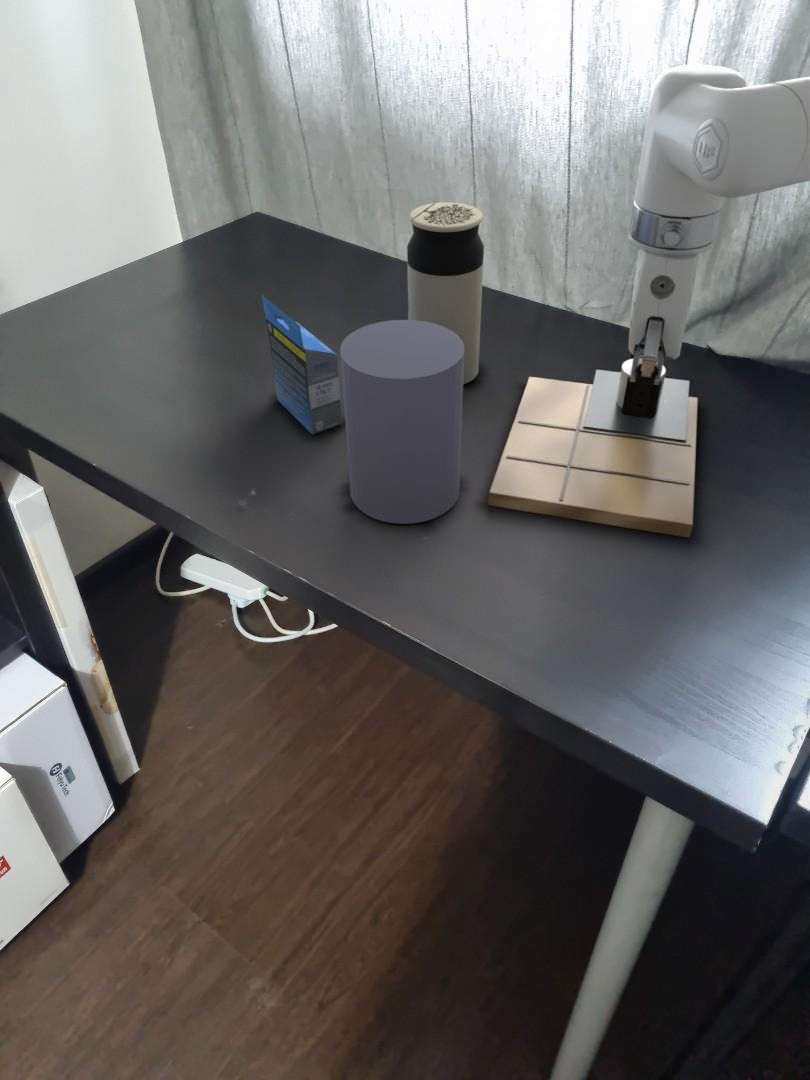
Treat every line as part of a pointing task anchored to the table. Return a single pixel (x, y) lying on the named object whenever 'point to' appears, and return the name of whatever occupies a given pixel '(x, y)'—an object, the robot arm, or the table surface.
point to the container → (403, 418)
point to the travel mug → (448, 273)
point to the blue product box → (303, 372)
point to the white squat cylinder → (626, 373)
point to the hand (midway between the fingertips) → (641, 391)
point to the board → (601, 456)
